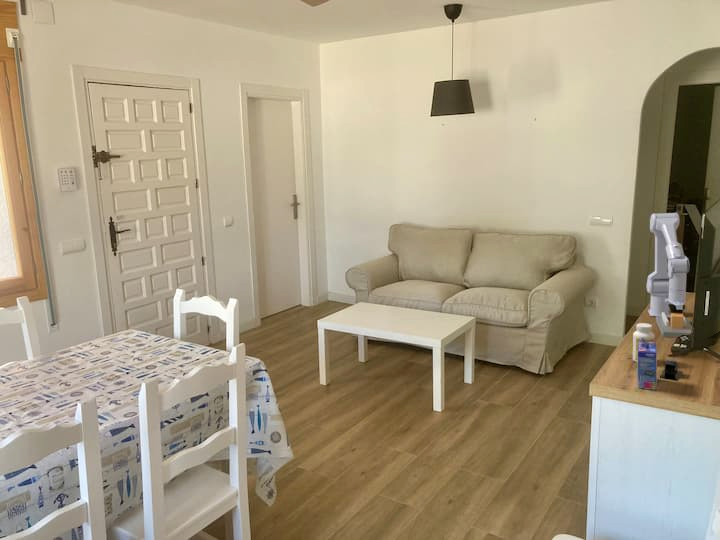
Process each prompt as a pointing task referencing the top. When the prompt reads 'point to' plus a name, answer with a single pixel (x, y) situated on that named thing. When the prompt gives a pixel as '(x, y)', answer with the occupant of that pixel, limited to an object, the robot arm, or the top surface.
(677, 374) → the black block
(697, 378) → the top surface
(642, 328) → the supplement bottle
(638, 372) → the ink cartridge box
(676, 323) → the orange block
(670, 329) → the channel deck
